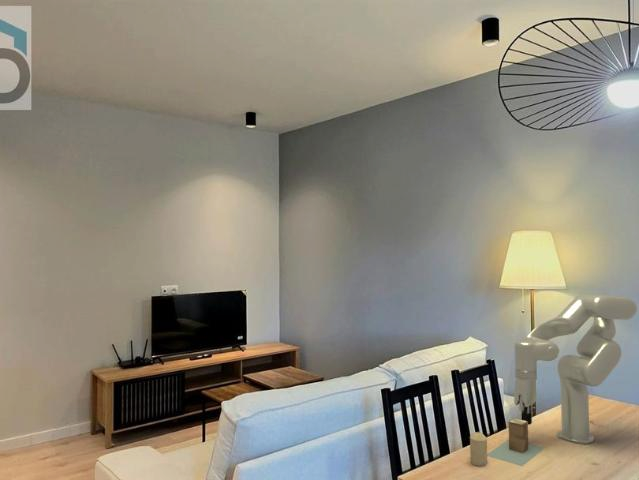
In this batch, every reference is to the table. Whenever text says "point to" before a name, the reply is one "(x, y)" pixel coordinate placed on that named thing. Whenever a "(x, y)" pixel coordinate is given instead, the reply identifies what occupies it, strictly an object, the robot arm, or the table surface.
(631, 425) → the table surface
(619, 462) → the table surface
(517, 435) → the block
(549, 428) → the table surface
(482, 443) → the candle
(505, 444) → the mat
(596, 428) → the table surface
